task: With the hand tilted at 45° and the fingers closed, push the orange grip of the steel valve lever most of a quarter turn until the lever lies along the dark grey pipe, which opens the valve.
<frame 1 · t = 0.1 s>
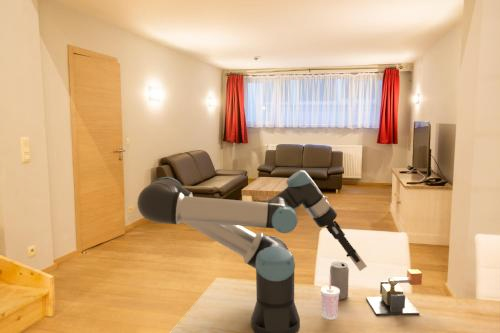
hand: (357, 260, 131), 15 cm above the table, tool tilted 35°, fingers open, 13 cm apart
beverage can: (338, 296, 138), on the table
beverage cup: (329, 316, 125), on the table
valve body: (391, 306, 130), on the table
valve lever: (404, 277, 128), point 10 cm above the table, hinge at 0.0°
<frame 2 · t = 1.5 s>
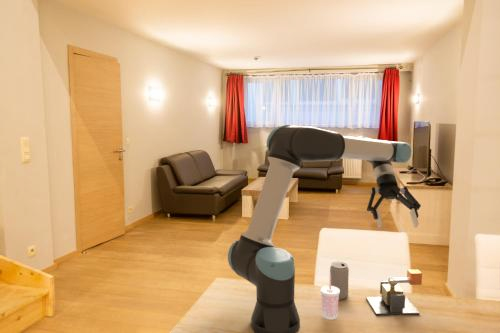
hand: (398, 226, 141), 23 cm above the table, tool tilted 45°, fingers open, 12 cm apart
nothing on the table moved.
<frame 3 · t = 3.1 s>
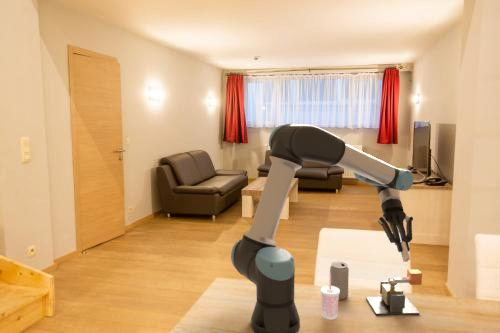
hand: (406, 260, 136), 13 cm above the table, tool tilted 45°, fingers closed
nothing on the table moved.
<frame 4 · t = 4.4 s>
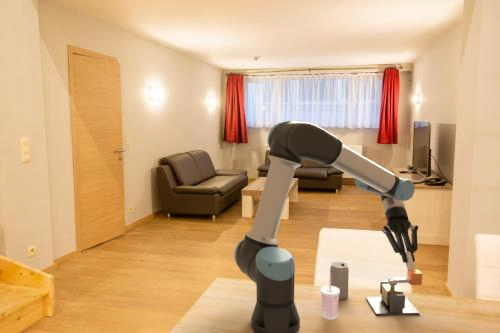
hand: (411, 271, 131), 11 cm above the table, tool tilted 45°, fingers closed
valve lever: (404, 277, 128), point 10 cm above the table, hinge at -0.9°, touching gripper
everything else where it was.
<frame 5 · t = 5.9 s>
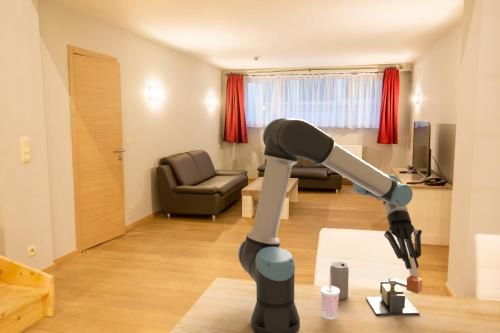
hand: (415, 278, 126), 11 cm above the table, tool tilted 45°, fingers closed
valve lever: (403, 281, 126), point 10 cm above the table, hinge at -47.2°, touching gripper
everything else where it was.
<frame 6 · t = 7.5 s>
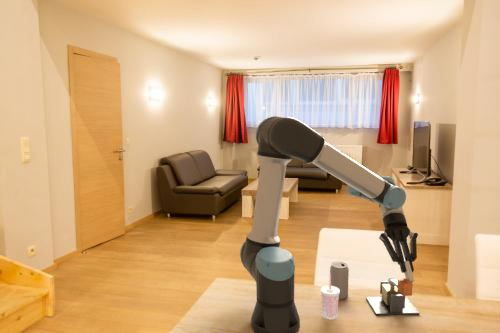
hand: (410, 282, 122), 12 cm above the table, tool tilted 45°, fingers closed
valve lever: (398, 282, 125), point 10 cm above the table, hinge at -81.0°, touching gripper
everything else where it was.
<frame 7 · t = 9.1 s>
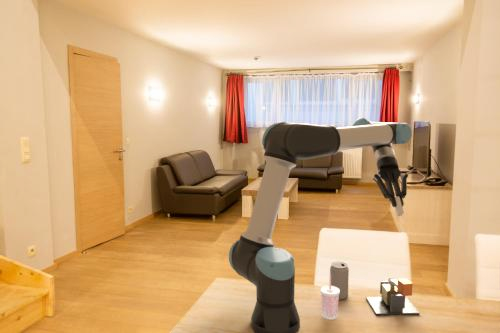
hand: (400, 214, 136), 29 cm above the table, tool tilted 45°, fingers closed
valve lever: (398, 282, 125), point 10 cm above the table, hinge at -81.3°
everything else where it was.
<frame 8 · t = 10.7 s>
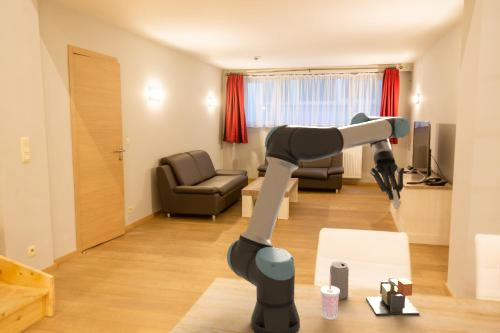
hand: (397, 206, 139), 31 cm above the table, tool tilted 45°, fingers closed
nothing on the table moved.
at the end: valve lever at -81° (first picture: +0°); beverage can moved 0.2 cm from its start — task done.
